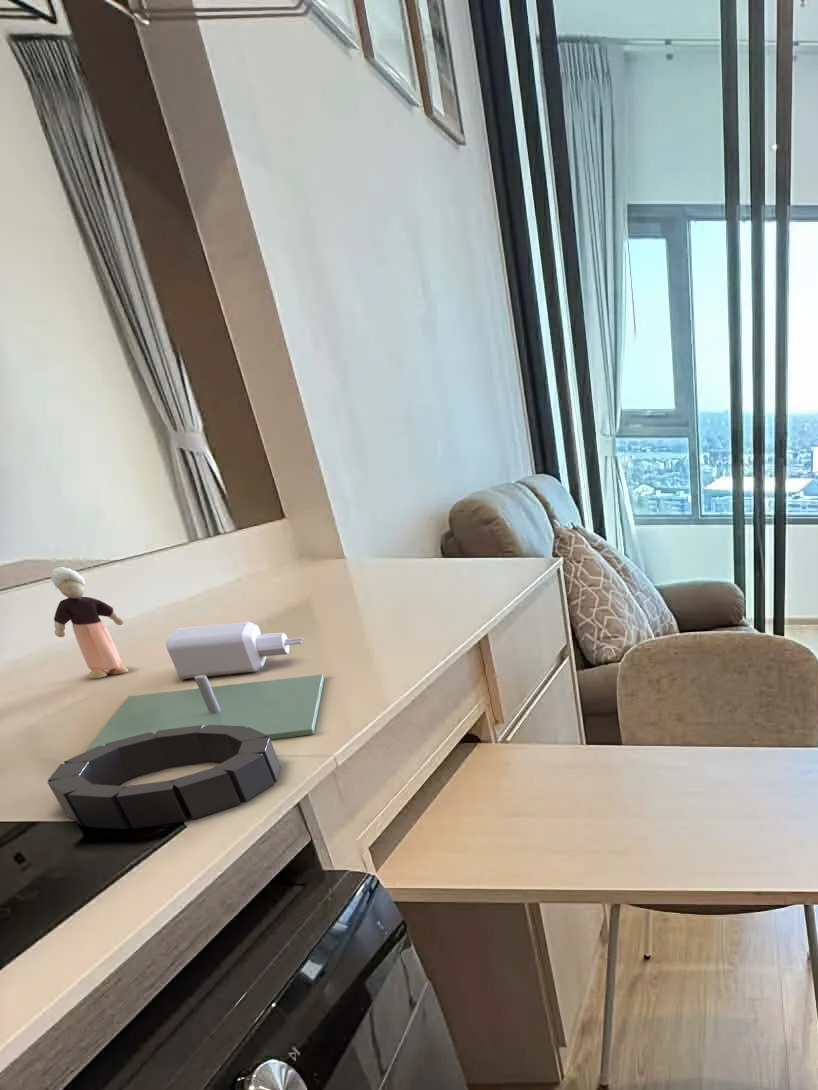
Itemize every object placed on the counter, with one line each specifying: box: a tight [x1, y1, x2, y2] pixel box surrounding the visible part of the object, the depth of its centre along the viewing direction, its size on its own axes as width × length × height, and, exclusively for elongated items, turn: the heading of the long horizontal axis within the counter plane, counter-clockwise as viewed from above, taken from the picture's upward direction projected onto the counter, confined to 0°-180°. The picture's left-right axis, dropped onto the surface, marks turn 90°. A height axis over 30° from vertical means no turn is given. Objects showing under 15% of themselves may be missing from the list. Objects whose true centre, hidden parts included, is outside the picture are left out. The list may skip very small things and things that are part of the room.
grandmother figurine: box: [50, 566, 129, 680], centre depth 108 cm, size 8×4×13 cm, turn 148°
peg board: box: [84, 674, 325, 752], centre depth 96 cm, size 22×22×4 cm
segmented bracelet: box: [47, 725, 282, 830], centre depth 80 cm, size 18×18×3 cm
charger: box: [165, 621, 304, 680], centre depth 112 cm, size 5×9×15 cm
